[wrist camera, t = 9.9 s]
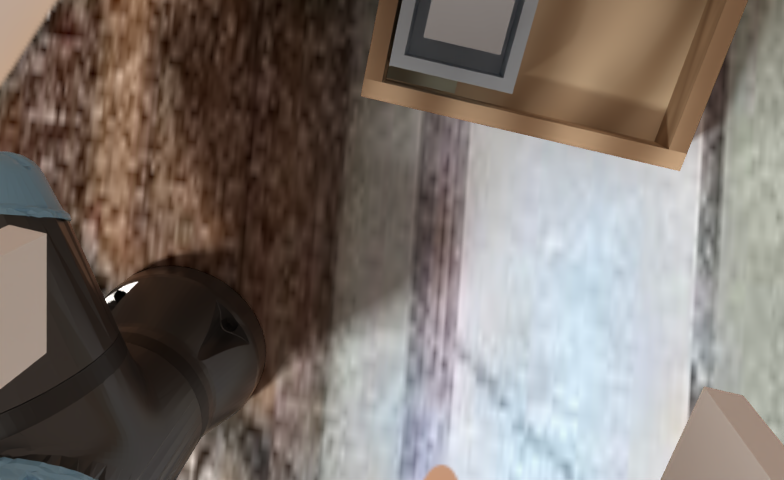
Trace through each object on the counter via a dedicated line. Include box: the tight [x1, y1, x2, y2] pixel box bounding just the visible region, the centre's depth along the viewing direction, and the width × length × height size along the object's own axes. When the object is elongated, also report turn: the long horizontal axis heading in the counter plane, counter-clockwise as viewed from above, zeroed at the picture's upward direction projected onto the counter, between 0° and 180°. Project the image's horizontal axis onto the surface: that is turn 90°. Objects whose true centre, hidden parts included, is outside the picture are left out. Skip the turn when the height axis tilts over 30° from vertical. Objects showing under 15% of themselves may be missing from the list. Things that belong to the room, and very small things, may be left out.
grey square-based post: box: [389, 0, 539, 94], centre depth 32 cm, size 8×8×15 cm
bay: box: [361, 0, 748, 171], centre depth 39 cm, size 22×13×4 cm, turn 78°
